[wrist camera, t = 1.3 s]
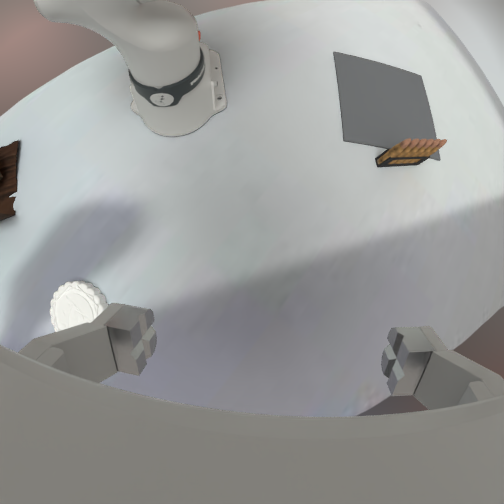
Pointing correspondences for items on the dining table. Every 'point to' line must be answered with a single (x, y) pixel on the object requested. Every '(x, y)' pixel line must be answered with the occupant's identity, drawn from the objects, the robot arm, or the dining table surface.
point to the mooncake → (76, 305)
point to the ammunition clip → (409, 152)
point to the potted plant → (7, 179)
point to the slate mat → (382, 103)
